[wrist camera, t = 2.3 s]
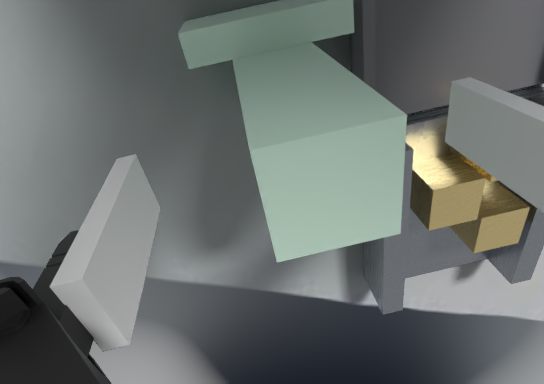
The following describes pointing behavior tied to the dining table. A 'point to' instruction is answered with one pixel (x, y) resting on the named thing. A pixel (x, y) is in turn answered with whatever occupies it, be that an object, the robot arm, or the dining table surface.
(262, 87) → the mint t-shaped block
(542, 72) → the chip tray
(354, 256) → the dining table surface
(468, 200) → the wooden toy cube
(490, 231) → the tan yellow cube
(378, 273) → the slot rail
